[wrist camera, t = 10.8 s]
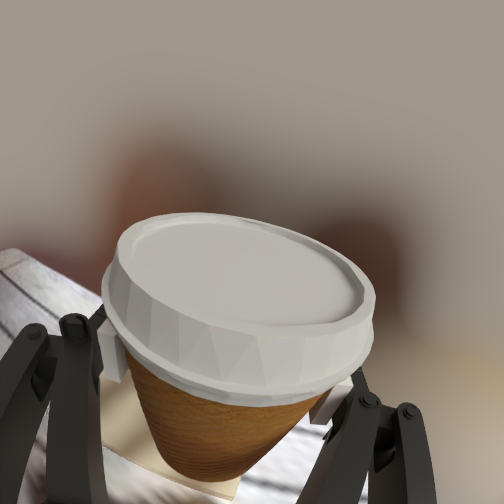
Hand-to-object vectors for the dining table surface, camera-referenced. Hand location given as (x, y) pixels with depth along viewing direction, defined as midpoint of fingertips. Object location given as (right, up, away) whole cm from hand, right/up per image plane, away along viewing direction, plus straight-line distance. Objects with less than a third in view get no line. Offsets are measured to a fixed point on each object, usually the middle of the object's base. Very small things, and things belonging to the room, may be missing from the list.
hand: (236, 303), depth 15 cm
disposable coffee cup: (-2, -8, -2) cm, 9 cm away
